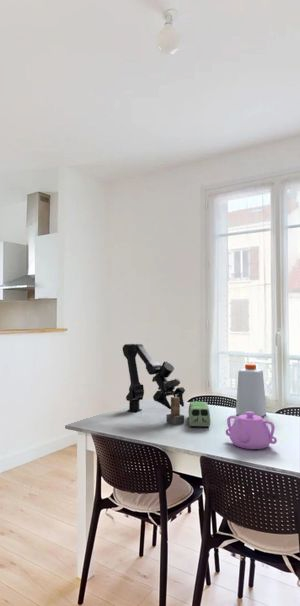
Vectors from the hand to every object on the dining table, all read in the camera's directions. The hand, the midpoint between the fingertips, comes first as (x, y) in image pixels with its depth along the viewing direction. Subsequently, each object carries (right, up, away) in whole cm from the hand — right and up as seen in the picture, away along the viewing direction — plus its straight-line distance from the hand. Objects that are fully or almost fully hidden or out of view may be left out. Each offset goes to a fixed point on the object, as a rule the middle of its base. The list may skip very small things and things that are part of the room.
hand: (177, 407), depth 193 cm
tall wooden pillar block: (-1, -8, +1) cm, 8 cm away
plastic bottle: (+43, -9, +19) cm, 48 cm away
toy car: (+11, -9, +2) cm, 14 cm away
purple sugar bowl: (+27, -6, -37) cm, 46 cm away
